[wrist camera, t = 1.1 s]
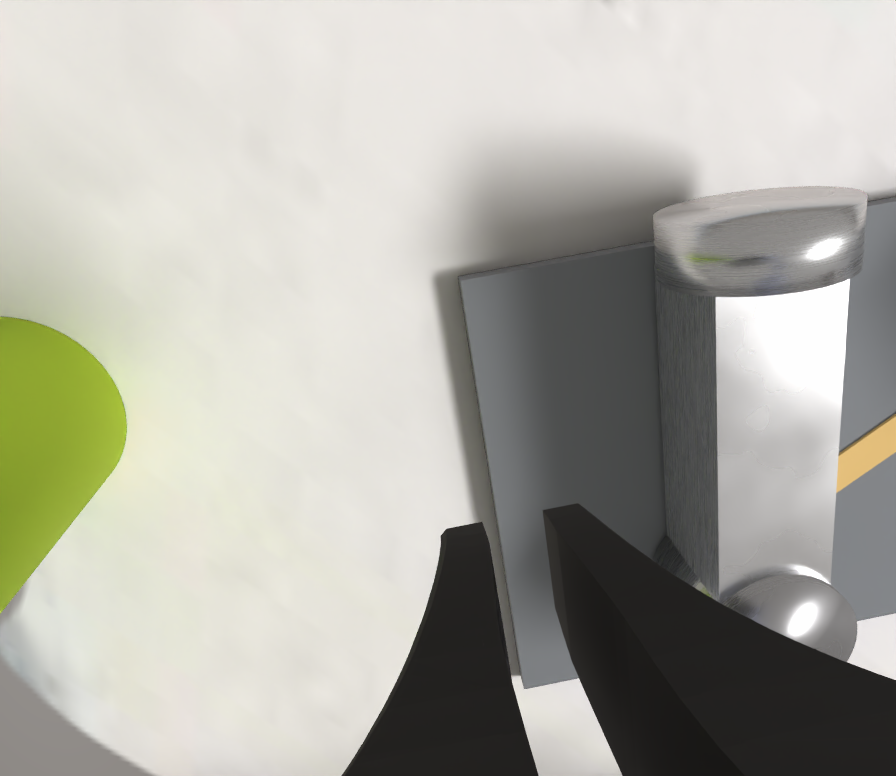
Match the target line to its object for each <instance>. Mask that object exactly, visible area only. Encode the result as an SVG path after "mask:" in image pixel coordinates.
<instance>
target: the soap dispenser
mask: <svg viewBox="0 0 896 776" xmlns="http://www.w3.org/2000/svg"><path fill="white" fill-rule="evenodd" d="M126 432H127V424H126V414H125V409H124V405H123V402H122V399H121V396H120V394H119V391H118V389H117V387H116V385H115V383H114V382H113V380H112V378H111V377H110V375H109V374H108V372H107V371H106V370H105V368H104V367H103V366H102V365H101V364H100V362H99V361H98V360H97V359H96V358H95V357H94V356H93V355H92V354H91V353H90V352H88V351H87V350H86V349H85V348H84V347H82V346H81V345H80V344H78V343H77V342H75V341H74V340H72V339H71V338H69V337H68V336H66V335H64V334H62V333H60V332H58V331H56V330H54V329H52V328H49V327H47V326H44V325H41V324H38V323H35V322H31V321H28V320H23V319H17V318H9V317H0V614H1V612H2V611H3V610H4V609H5V607H6V606H7V605H8V603H9V602H10V601H11V600H12V598H13V597H14V596H15V595H16V593H17V592H18V591H19V590H20V588H21V587H22V586H23V584H24V583H25V582H26V581H27V579H28V578H29V577H30V576H31V574H32V573H33V572H34V570H35V569H36V568H37V567H38V565H39V564H40V563H41V562H42V560H43V559H44V558H45V557H46V555H47V554H48V553H49V551H50V550H51V549H52V548H53V546H54V545H55V544H56V543H57V541H58V540H59V539H60V537H61V536H62V535H63V534H64V532H65V531H66V530H67V529H68V527H69V526H70V525H71V523H72V522H73V521H74V520H75V518H76V517H77V516H78V515H79V513H80V512H81V511H82V510H83V508H84V507H85V506H86V504H87V503H88V502H89V501H90V499H91V498H92V497H93V496H94V494H95V493H96V492H97V490H98V489H99V488H100V487H101V485H102V484H103V483H104V482H105V480H106V479H107V478H108V477H109V475H110V474H111V473H112V471H113V470H114V468H115V467H116V465H117V463H118V462H119V460H120V457H121V455H122V452H123V449H124V445H125V441H126Z"/></svg>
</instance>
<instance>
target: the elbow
mask: <svg viewBox="0 0 896 776" xmlns="http://www.w3.org/2000/svg"><path fill="white" fill-rule="evenodd" d="M867 198H868V195H867V193H865V192H864V191H861V190H858V189H853V188H845V187H829V186H804V187H783V188H769V189H758V190H749V191H741V192H733V193H726V194H719V195H713V196H708V197H703V198H697V199H693V200H688V201H684V202H680V203H677V204H673V205H670V206H668V207H665V208H663V209H660V210H658V211H657V212H655V213H654V215H653V228H654V249H655V265H654V271H655V292H656V313H657V335H658V356H659V377H660V399H661V420H662V442H663V463H664V484H665V506H666V527H667V535H666V537H665V538H664V539H663V540H662V542H661V544H660V545H659V547H658V549H657V551H656V553H655V556H654V559H653V560H654V561H655V562H656V563H658V564H659V565H661V566H662V567H663V568H665V569H666V570H668V571H669V572H671V573H672V574H674V575H675V576H677V577H678V578H680V579H681V580H683V581H685V582H686V583H688V584H689V585H691V586H693V587H694V588H696V589H697V590H699V591H701V592H702V593H704V594H706V595H707V596H709V597H711V598H712V599H714V600H716V601H718V602H719V603H721V604H723V605H725V606H727V607H728V608H730V609H732V610H734V611H736V612H738V613H740V614H742V615H744V616H746V617H748V618H750V619H752V620H753V621H755V622H757V623H759V624H761V625H763V626H765V627H767V628H769V629H771V630H773V631H775V632H778V633H780V634H782V635H784V636H786V637H788V638H791V639H793V640H795V641H797V642H800V643H802V644H804V645H807V646H809V647H811V648H814V649H816V650H818V651H821V652H823V653H825V654H828V655H830V656H833V657H835V658H837V659H840V660H842V661H845V662H847V660H848V659H849V657H850V655H851V653H852V651H853V648H854V645H855V642H856V637H857V621H856V616H855V614H854V611H853V609H852V607H851V606H850V604H849V603H848V602H847V600H846V599H845V598H844V597H843V596H842V595H841V594H840V593H839V592H838V591H837V590H836V589H835V588H834V587H833V586H832V585H831V584H830V583H831V567H832V551H833V535H834V519H835V503H836V488H837V472H838V456H839V440H840V424H841V408H842V392H843V376H844V361H845V345H846V329H847V313H848V297H849V281H850V279H851V278H852V277H854V276H856V275H857V274H858V273H860V272H861V270H862V268H863V255H864V241H865V227H866V213H867Z"/></svg>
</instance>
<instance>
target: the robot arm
mask: <svg viewBox="0 0 896 776" xmlns="http://www.w3.org/2000/svg"><path fill="white" fill-rule="evenodd" d="M543 518H544V526H545V534H546V542H547V549H548V557H549V565H550V573H551V581H552V589H553V597H554V605H555V610H556V613H557V616H558V619H559V623H560V626H561V629H562V632H563V636H564V639H565V642H566V645H567V648H568V651H569V654H570V657H571V660H572V663H573V665H574V668H575V670H576V672H577V675H578V677H579V679H580V681H581V684H582V686H583V688H584V690H585V693H586V695H587V697H588V699H589V702H590V704H591V706H592V708H593V711H594V713H595V715H596V717H597V719H598V722H599V724H600V726H601V728H602V731H603V733H604V735H605V737H606V739H607V742H608V744H609V746H610V748H611V751H612V753H613V755H614V757H615V759H616V762H617V764H618V766H619V768H620V771H621V773H622V775H623V776H896V680H893V679H890V678H888V677H885V676H882V675H879V674H876V673H874V672H871V671H868V670H866V669H863V668H860V667H858V666H855V665H852V664H850V663H847V662H845V661H842V660H840V659H837V658H835V657H833V656H830V655H828V654H825V653H823V652H821V651H818V650H816V649H814V648H811V647H809V646H807V645H804V644H802V643H800V642H797V641H795V640H793V639H791V638H788V637H786V636H784V635H782V634H780V633H778V632H775V631H773V630H771V629H769V628H767V627H765V626H763V625H761V624H759V623H757V622H755V621H753V620H752V619H750V618H748V617H746V616H744V615H742V614H740V613H738V612H736V611H734V610H732V609H730V608H728V607H727V606H725V605H723V604H721V603H719V602H718V601H716V600H714V599H712V598H711V597H709V596H707V595H706V594H704V593H702V592H701V591H699V590H697V589H696V588H694V587H693V586H691V585H689V584H688V583H686V582H685V581H683V580H681V579H680V578H678V577H677V576H675V575H674V574H672V573H671V572H669V571H668V570H666V569H665V568H663V567H662V566H661V565H659V564H658V563H656V562H655V561H654V560H652V559H651V558H649V557H648V556H646V555H645V554H644V553H642V552H641V551H639V550H638V549H637V548H635V547H634V546H633V545H631V544H630V543H629V542H627V541H626V540H625V539H623V538H622V537H621V536H620V535H618V534H617V533H616V532H614V531H613V530H612V529H611V528H609V527H608V526H607V525H606V524H604V523H603V522H602V521H601V520H599V519H598V518H597V517H596V516H594V515H593V514H592V513H591V512H589V511H588V510H587V509H585V508H584V507H583V506H581V505H580V504H579V503H576V504H571V505H566V506H561V507H556V508H551V509H546V510H543ZM342 776H538V772H537V769H536V766H535V762H534V759H533V755H532V752H531V748H530V745H529V741H528V738H527V735H526V731H525V728H524V724H523V720H522V717H521V713H520V710H519V706H518V702H517V699H516V695H515V692H514V688H513V684H512V679H511V672H510V666H509V660H508V654H507V648H506V641H505V635H504V629H503V623H502V617H501V611H500V605H499V599H498V593H497V587H496V581H495V575H494V568H493V562H492V556H491V550H490V544H489V541H488V538H487V535H486V532H485V529H484V526H483V523H482V522H479V523H474V524H469V525H464V526H459V527H454V528H448V529H446V530H445V531H444V533H443V534H442V535H441V548H440V556H439V561H438V566H437V571H436V575H435V579H434V583H433V586H432V590H431V593H430V597H429V600H428V603H427V607H426V610H425V613H424V616H423V619H422V622H421V624H420V627H419V629H418V632H417V635H416V637H415V640H414V642H413V645H412V648H411V650H410V653H409V655H408V657H407V660H406V662H405V664H404V666H403V669H402V671H401V673H400V675H399V677H398V679H397V682H396V684H395V686H394V688H393V690H392V692H391V693H390V695H389V697H388V699H387V701H386V703H385V705H384V707H383V709H382V711H381V712H380V714H379V716H378V718H377V719H376V721H375V723H374V725H373V726H372V728H371V730H370V732H369V733H368V735H367V737H366V739H365V740H364V742H363V744H362V745H361V747H360V749H359V750H358V752H357V753H356V755H355V757H354V758H353V760H352V761H351V763H350V764H349V766H348V767H347V769H346V770H345V772H344V773H343V774H342Z"/></svg>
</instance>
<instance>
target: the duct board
mask: <svg viewBox="0 0 896 776" xmlns="http://www.w3.org/2000/svg"><path fill="white" fill-rule="evenodd" d="M654 265H655V249H654V241H650V242H644V243H639V244H633V245H628V246H622V247H617V248H611V249H606V250H600V251H595V252H589V253H584V254H579V255H573V256H568V257H562V258H557V259H551V260H546V261H540V262H535V263H529V264H524V265H518V266H513V267H507V268H502V269H496V270H491V271H485V272H480V273H474V274H469V275H463V276H458V280H459V286H460V293H461V299H462V305H463V312H464V318H465V324H466V331H467V337H468V344H469V350H470V356H471V363H472V369H473V375H474V382H475V388H476V394H477V401H478V407H479V413H480V420H481V426H482V432H483V439H484V445H485V451H486V458H487V464H488V471H489V477H490V483H491V490H492V496H493V502H494V509H495V515H496V521H497V528H498V534H499V540H500V547H501V553H502V559H503V566H504V572H505V578H506V585H507V591H508V598H509V604H510V610H511V617H512V623H513V629H514V636H515V642H516V648H517V655H518V661H519V667H520V674H521V679H522V682H523V686H524V689H528V688H533V687H538V686H543V685H548V684H553V683H557V682H562V681H567V680H572V679H577V678H579V677H578V675H577V672H576V670H575V668H574V665H573V663H572V660H571V657H570V654H569V651H568V648H567V645H566V642H565V639H564V636H563V632H562V629H561V626H560V623H559V619H558V616H557V613H556V610H555V605H554V597H553V589H552V581H551V573H550V565H549V557H548V549H547V542H546V534H545V526H544V518H543V510H546V509H551V508H556V507H561V506H566V505H571V504H576V503H579V504H580V505H581V506H583V507H584V508H585V509H587V510H588V511H589V512H591V513H592V514H593V515H594V516H596V517H597V518H598V519H599V520H601V521H602V522H603V523H604V524H606V525H607V526H608V527H609V528H611V529H612V530H613V531H614V532H616V533H617V534H618V535H620V536H621V537H622V538H623V539H625V540H626V541H627V542H629V543H630V544H631V545H633V546H634V547H635V548H637V549H638V550H639V551H641V552H642V553H644V554H645V555H646V556H648V557H649V558H651V559H652V560H653V559H654V556H655V553H656V551H657V549H658V547H659V545H660V544H661V542H662V540H663V539H664V538H665V537H666V535H667V527H666V506H665V484H664V463H663V442H662V420H661V399H660V377H659V356H658V335H657V313H656V292H655V271H654ZM830 584H831V585H832V586H833V587H834V588H835V589H836V590H837V591H838V592H839V593H840V594H841V595H842V596H843V597H844V598H845V599H846V600H847V602H848V603H849V604H850V606H851V607H852V609H853V611H854V614H855V616H856V621H860V620H865V619H870V618H874V617H879V616H884V615H889V614H894V613H896V197H891V198H886V199H880V200H875V201H869V202H867V213H866V227H865V241H864V255H863V268H862V270H861V272H860V273H858V274H857V275H856V276H854V277H852V278H851V279H850V281H849V297H848V313H847V329H846V345H845V361H844V376H843V392H842V408H841V424H840V440H839V456H838V472H837V488H836V503H835V519H834V535H833V551H832V567H831V583H830Z"/></svg>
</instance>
